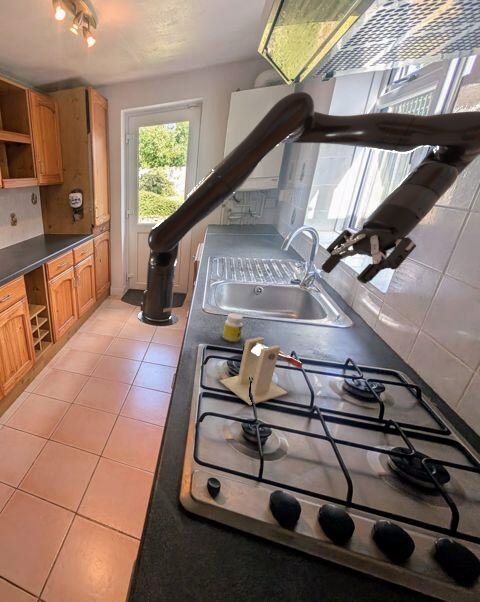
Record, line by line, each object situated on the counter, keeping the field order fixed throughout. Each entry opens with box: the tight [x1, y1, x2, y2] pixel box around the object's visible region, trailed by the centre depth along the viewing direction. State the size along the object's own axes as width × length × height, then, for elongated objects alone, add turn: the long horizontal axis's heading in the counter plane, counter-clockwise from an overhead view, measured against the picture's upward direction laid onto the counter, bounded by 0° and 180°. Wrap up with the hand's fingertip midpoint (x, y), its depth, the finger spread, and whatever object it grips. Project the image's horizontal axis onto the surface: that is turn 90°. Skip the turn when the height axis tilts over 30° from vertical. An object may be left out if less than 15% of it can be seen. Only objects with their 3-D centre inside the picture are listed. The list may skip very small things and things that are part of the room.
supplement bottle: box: [222, 313, 244, 343], centre depth 91 cm, size 5×5×8 cm
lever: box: [251, 343, 303, 369], centre depth 69 cm, size 13×6×2 cm, turn 109°
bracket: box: [219, 336, 288, 406], centre depth 69 cm, size 11×9×13 cm
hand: (341, 276), depth 67 cm, fingers open, 8 cm apart
